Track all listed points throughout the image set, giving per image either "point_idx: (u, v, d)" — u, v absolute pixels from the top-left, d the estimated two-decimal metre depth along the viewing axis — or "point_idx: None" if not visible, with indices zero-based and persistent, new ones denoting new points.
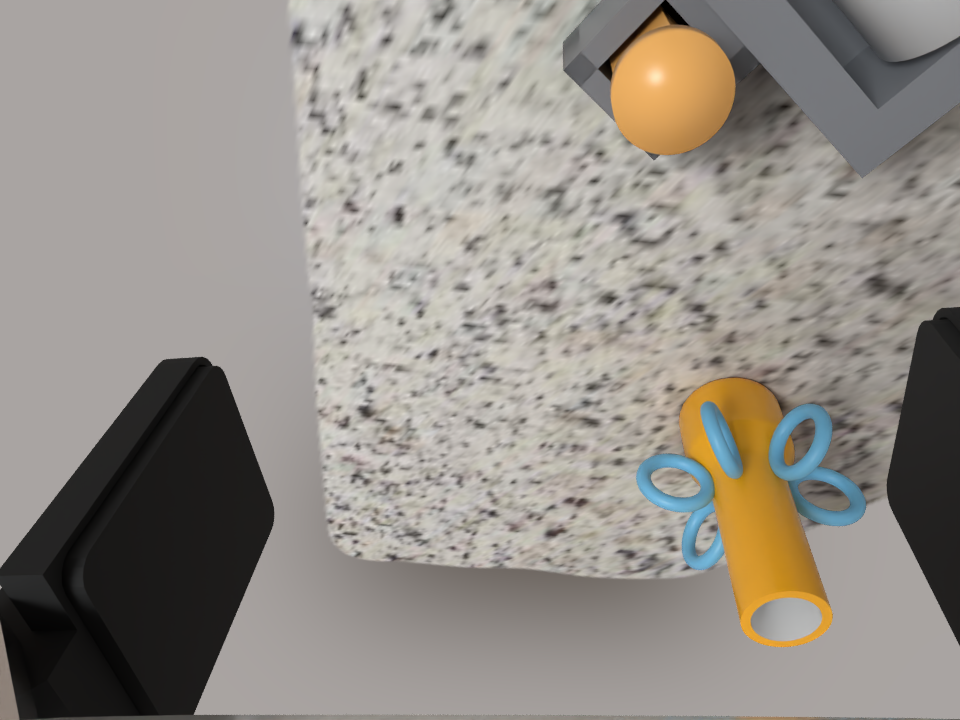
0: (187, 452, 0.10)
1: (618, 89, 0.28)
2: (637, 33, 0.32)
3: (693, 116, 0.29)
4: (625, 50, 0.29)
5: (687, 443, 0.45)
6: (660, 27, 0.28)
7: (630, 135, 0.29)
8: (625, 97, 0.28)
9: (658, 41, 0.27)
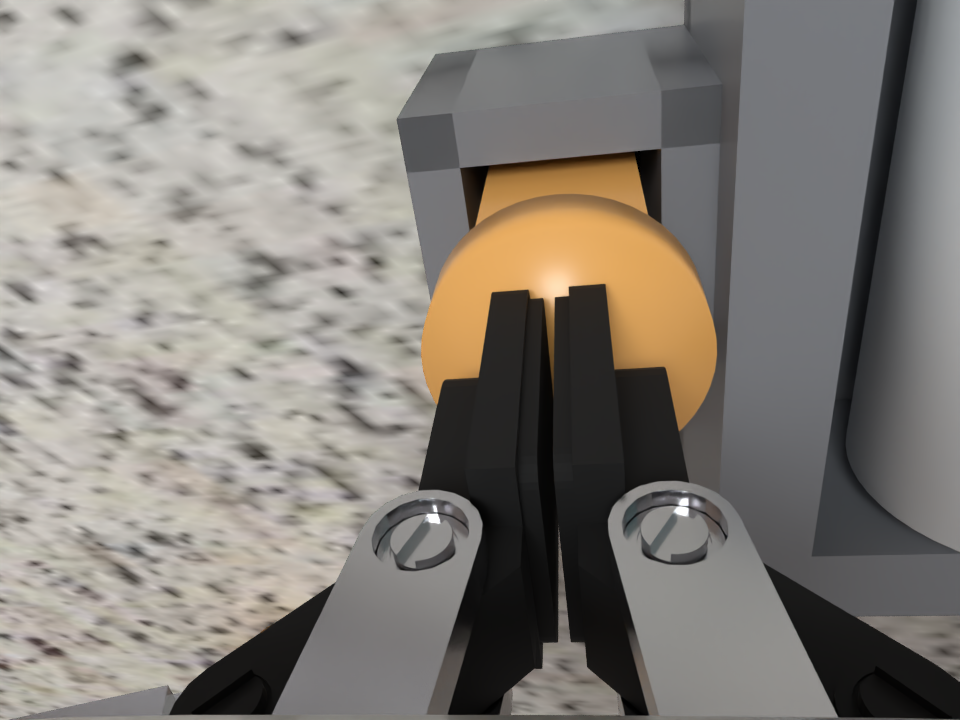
0: (543, 374, 0.10)
1: (474, 272, 0.11)
2: None
3: None
4: (541, 198, 0.11)
5: None
6: (637, 211, 0.11)
7: (434, 368, 0.12)
8: (476, 298, 0.11)
9: (622, 248, 0.11)
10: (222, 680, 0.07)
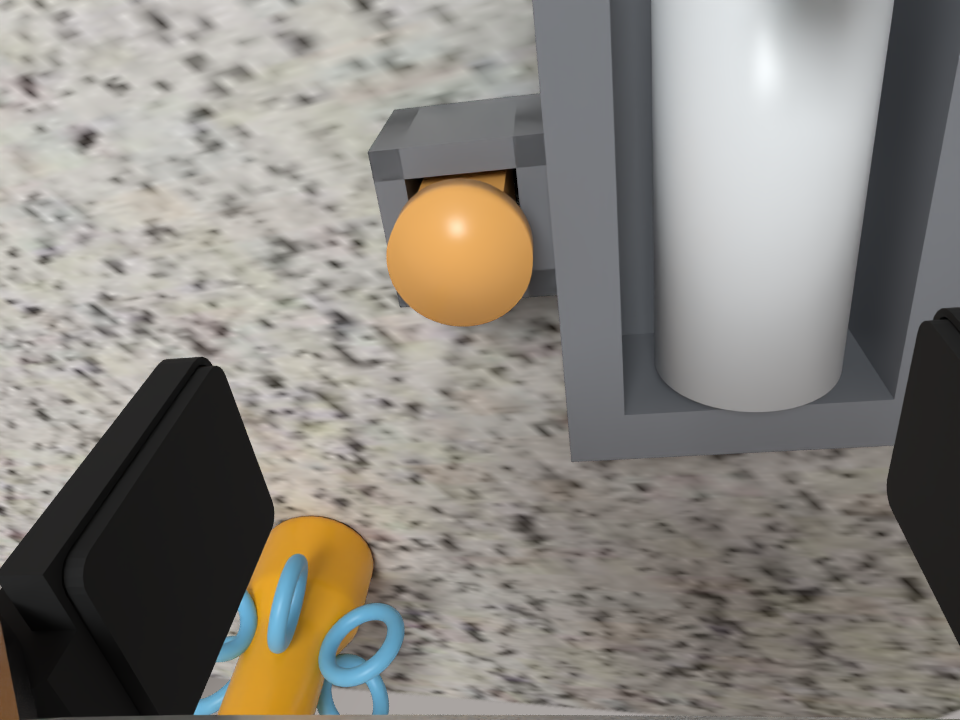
0: (187, 452, 0.10)
1: (411, 216, 0.23)
2: None
3: (465, 295, 0.24)
4: (445, 180, 0.23)
5: (257, 571, 0.38)
6: (492, 186, 0.23)
7: (393, 267, 0.24)
8: (413, 229, 0.23)
9: (481, 202, 0.22)
10: None
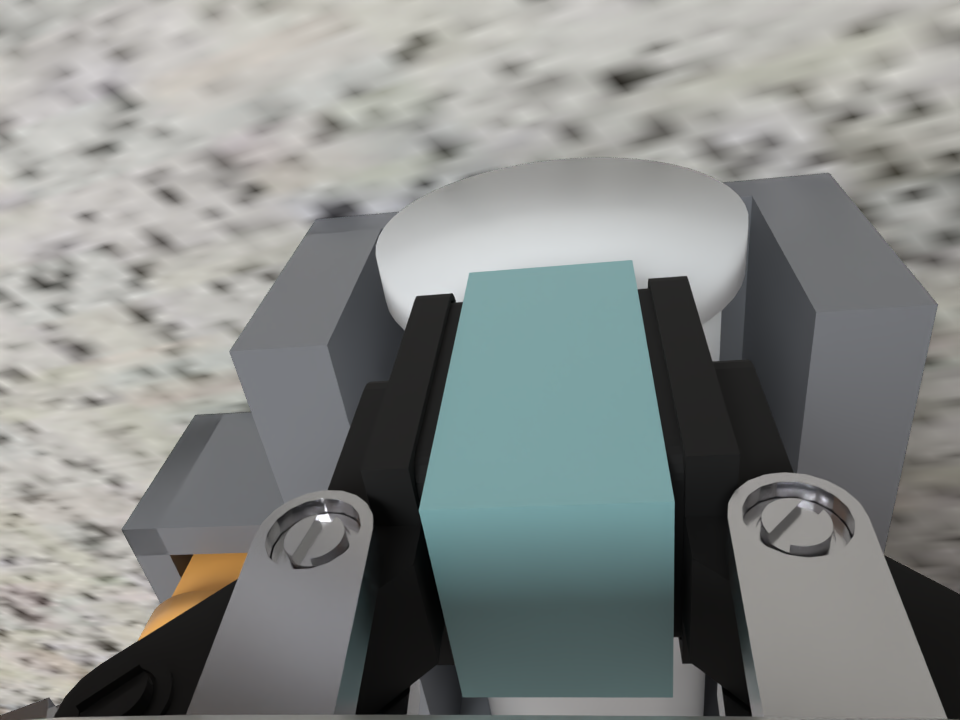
0: None
1: None
2: None
3: None
4: (196, 592, 0.19)
5: None
6: None
7: None
8: None
9: None
10: (109, 675, 0.07)
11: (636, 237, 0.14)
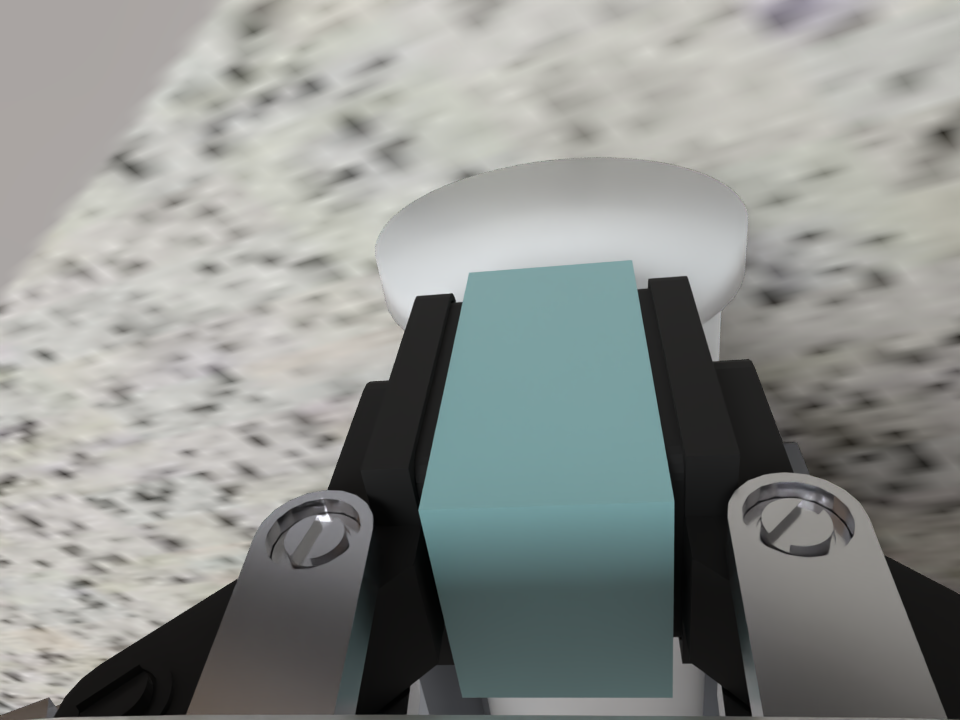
0: None
1: None
2: None
3: None
4: None
5: None
6: None
7: None
8: None
9: None
10: (109, 675, 0.07)
11: (635, 237, 0.14)
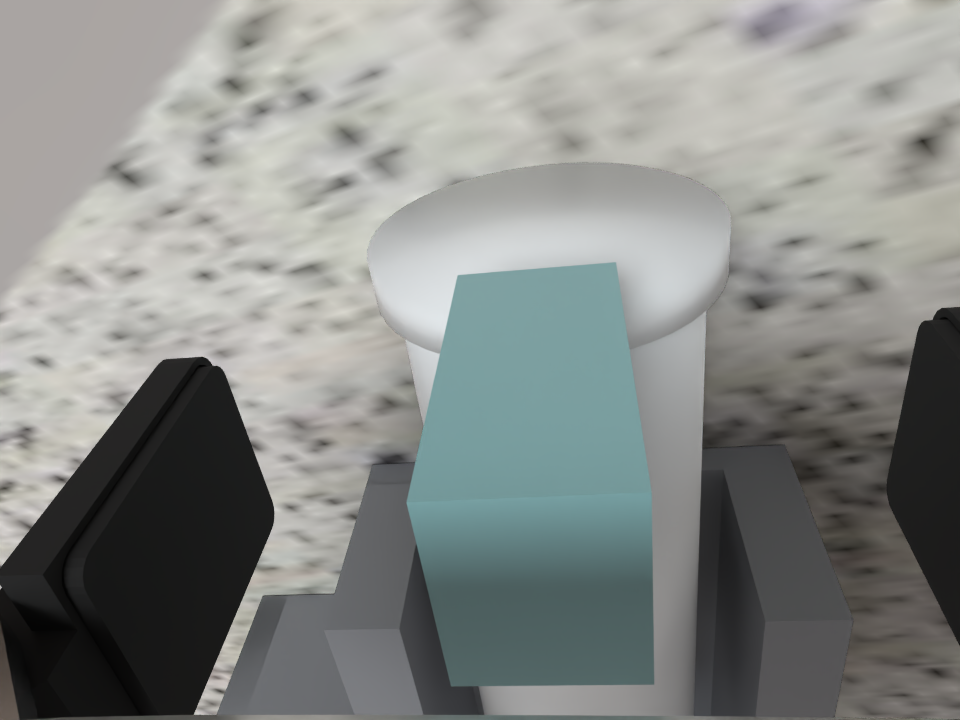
0: (187, 452, 0.10)
1: None
2: None
3: None
4: None
5: None
6: None
7: None
8: None
9: None
10: None
11: (621, 239, 0.15)
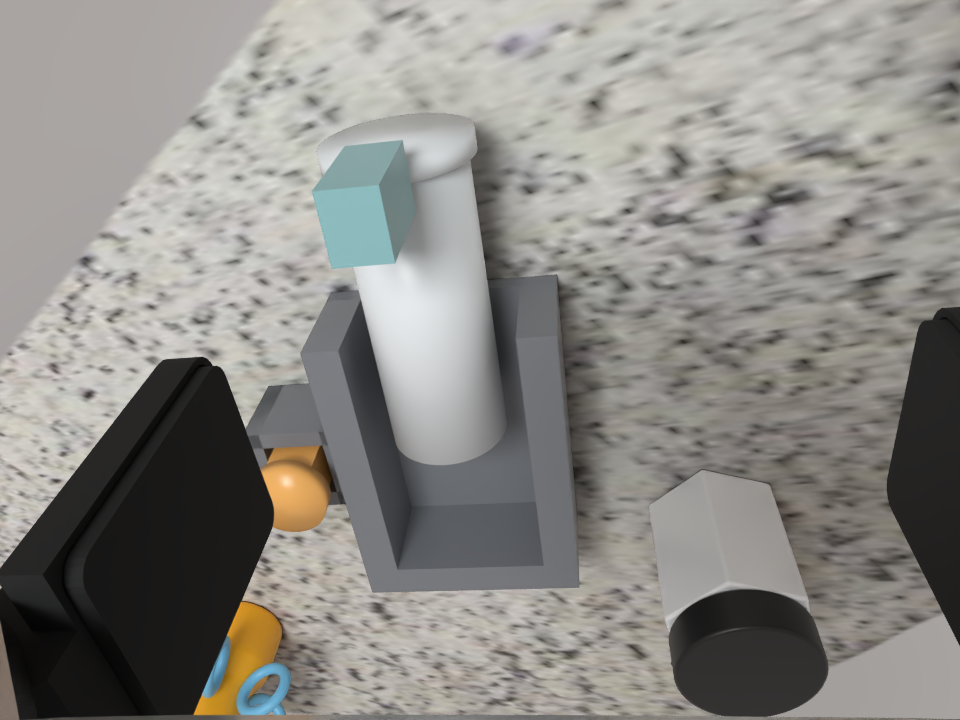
0: (187, 452, 0.10)
1: None
2: None
3: (292, 517, 0.44)
4: (279, 460, 0.43)
5: None
6: (304, 464, 0.43)
7: None
8: None
9: (293, 478, 0.42)
10: None
11: (423, 140, 0.34)
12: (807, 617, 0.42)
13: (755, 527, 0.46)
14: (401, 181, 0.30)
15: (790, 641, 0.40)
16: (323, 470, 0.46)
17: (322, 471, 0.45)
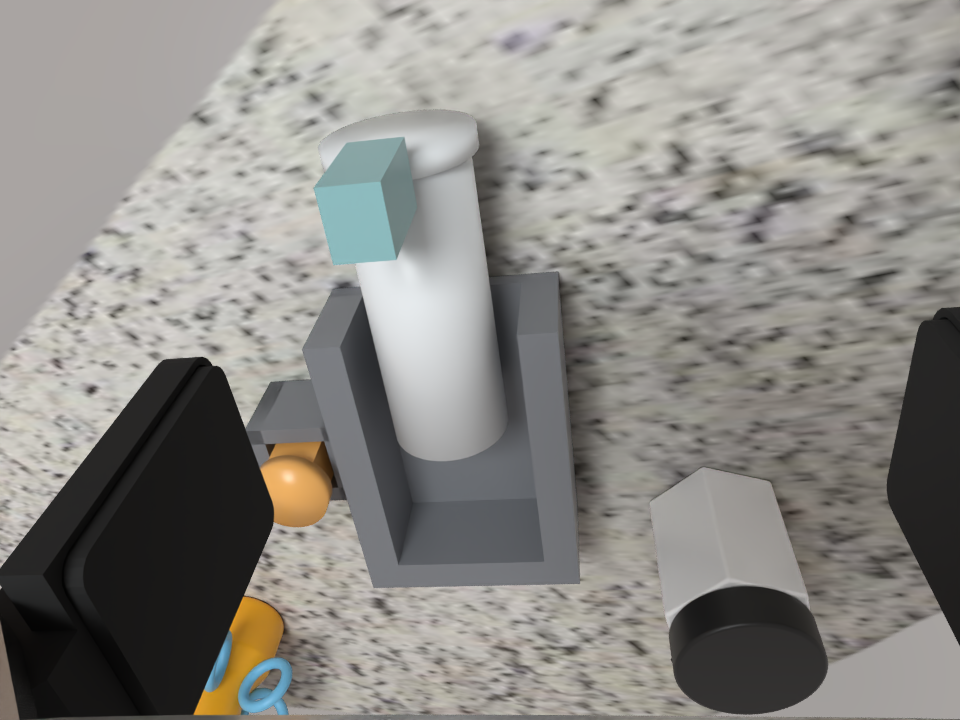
0: (187, 452, 0.10)
1: None
2: None
3: (294, 513, 0.44)
4: (280, 456, 0.43)
5: None
6: (305, 460, 0.43)
7: None
8: None
9: (295, 473, 0.43)
10: None
11: (425, 137, 0.34)
12: (807, 614, 0.42)
13: (755, 524, 0.46)
14: (403, 178, 0.30)
15: (790, 638, 0.40)
16: (325, 466, 0.46)
17: (323, 466, 0.46)
